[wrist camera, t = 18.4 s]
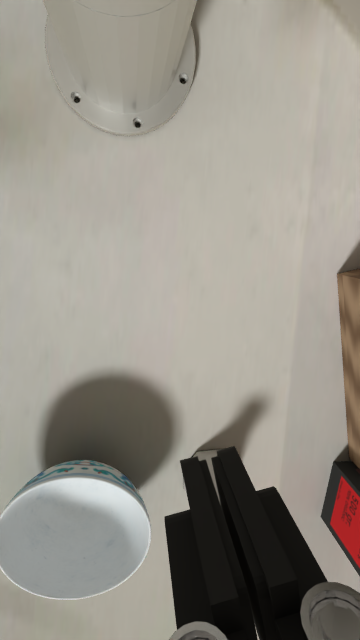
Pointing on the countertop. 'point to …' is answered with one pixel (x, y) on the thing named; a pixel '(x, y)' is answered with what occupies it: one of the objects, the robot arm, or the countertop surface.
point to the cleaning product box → (344, 509)
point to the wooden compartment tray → (351, 355)
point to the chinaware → (74, 531)
